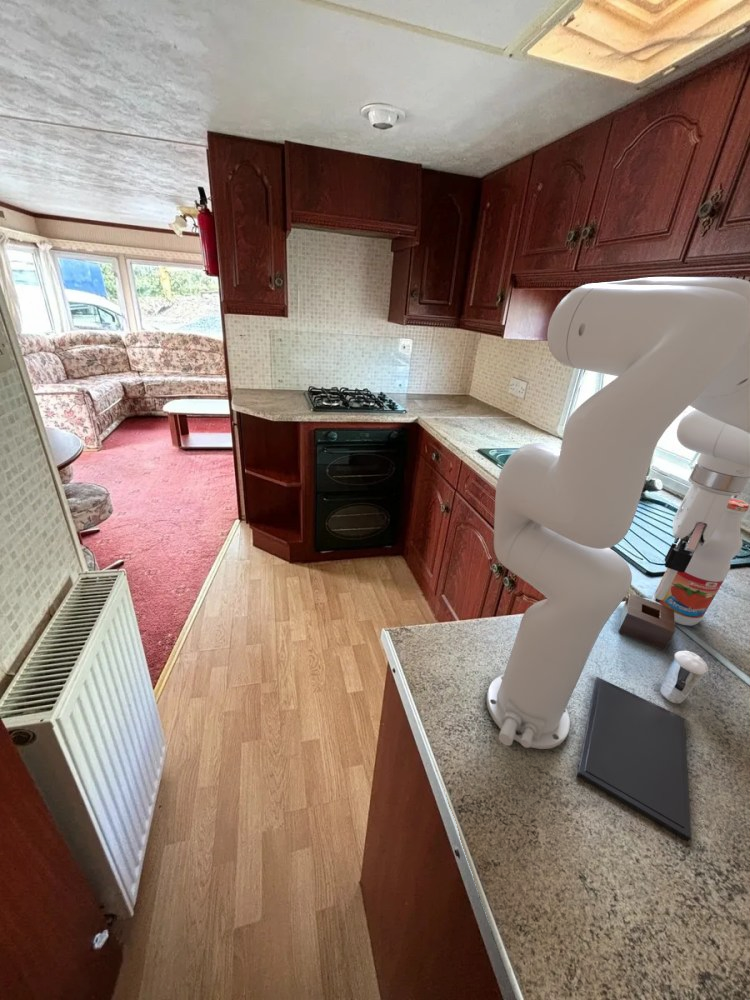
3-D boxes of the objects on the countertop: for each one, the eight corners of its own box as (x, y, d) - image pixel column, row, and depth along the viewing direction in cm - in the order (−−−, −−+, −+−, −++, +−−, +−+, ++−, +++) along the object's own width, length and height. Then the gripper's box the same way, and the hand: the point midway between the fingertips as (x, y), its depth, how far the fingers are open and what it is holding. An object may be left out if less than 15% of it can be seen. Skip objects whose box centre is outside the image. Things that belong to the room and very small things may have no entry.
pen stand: (664, 651, 79) (675, 632, 77) (618, 632, 83) (627, 613, 81) (664, 627, 86) (674, 609, 83) (621, 610, 89) (629, 592, 87)
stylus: (661, 604, 80) (692, 545, 74) (653, 601, 81) (682, 542, 75) (661, 600, 81) (691, 541, 75) (653, 597, 82) (682, 539, 76)
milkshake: (677, 714, 66) (704, 671, 62) (649, 686, 71) (673, 644, 67) (697, 709, 68) (725, 666, 63) (669, 682, 72) (693, 641, 68)
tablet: (688, 842, 50) (691, 837, 49) (576, 776, 56) (578, 771, 55) (682, 722, 65) (685, 717, 65) (595, 680, 71) (597, 675, 71)
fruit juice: (684, 601, 95) (742, 494, 83) (708, 630, 86) (778, 515, 74) (642, 595, 95) (694, 487, 83) (662, 622, 87) (723, 507, 75)
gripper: (689, 461, 77) (652, 543, 85) (694, 485, 65) (650, 578, 73) (738, 472, 74) (694, 556, 82) (753, 500, 62) (699, 595, 70)
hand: (673, 566), depth 77 cm, fingers closed on stylus, 1 cm apart
